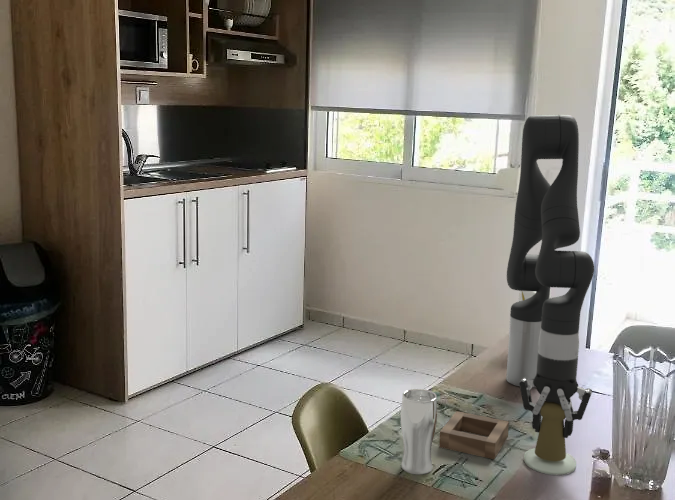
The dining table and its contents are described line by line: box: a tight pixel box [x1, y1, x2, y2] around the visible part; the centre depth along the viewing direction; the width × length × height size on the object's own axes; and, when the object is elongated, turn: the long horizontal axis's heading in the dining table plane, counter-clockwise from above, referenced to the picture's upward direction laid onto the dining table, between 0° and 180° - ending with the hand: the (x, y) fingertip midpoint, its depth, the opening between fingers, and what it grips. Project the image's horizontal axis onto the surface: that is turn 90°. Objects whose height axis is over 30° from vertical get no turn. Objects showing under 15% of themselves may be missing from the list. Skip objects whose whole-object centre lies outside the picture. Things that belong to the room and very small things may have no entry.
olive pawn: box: [534, 401, 567, 461], centre depth 147 cm, size 6×6×11 cm
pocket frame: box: [438, 410, 510, 460], centre depth 156 cm, size 12×12×4 cm
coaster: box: [523, 447, 577, 476], centre depth 148 cm, size 10×10×1 cm
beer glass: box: [400, 388, 438, 475], centre depth 144 cm, size 7×7×15 cm
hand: (551, 433), depth 147 cm, fingers closed on olive pawn, 5 cm apart
